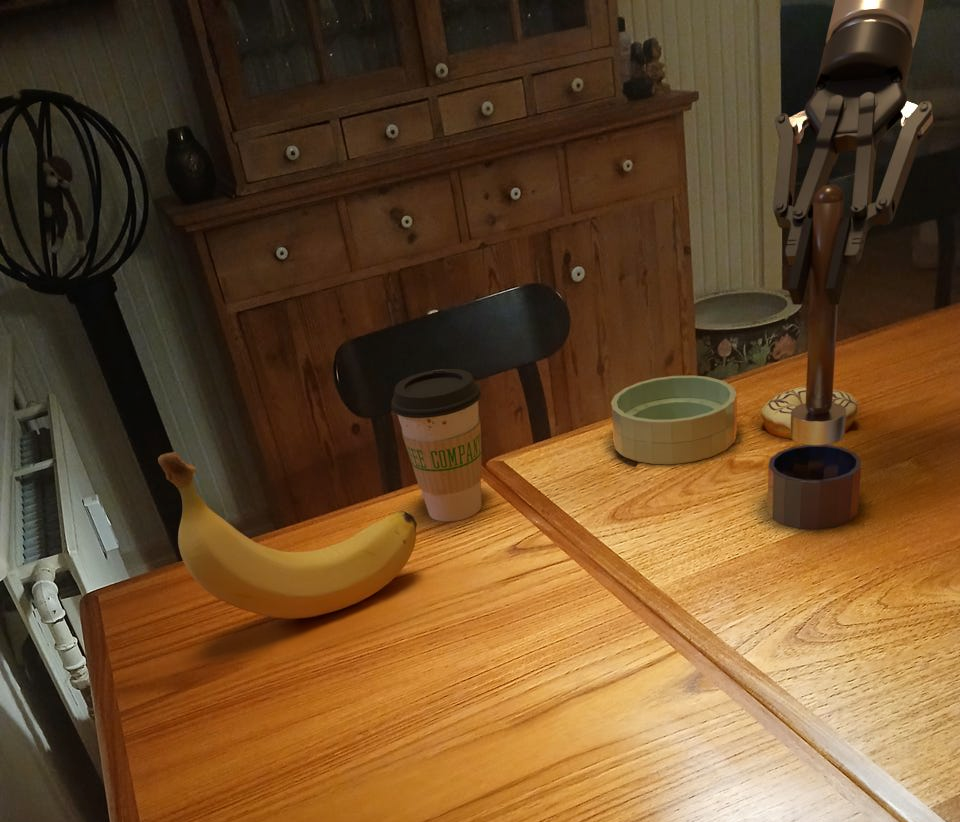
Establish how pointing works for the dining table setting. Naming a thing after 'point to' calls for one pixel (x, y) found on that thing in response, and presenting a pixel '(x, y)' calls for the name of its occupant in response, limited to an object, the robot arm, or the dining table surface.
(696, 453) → the bowl
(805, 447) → the crock
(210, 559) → the banana
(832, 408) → the wooden pestle
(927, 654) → the dining table surface
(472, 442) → the coffee cup
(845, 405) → the decorated donut
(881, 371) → the dining table surface
